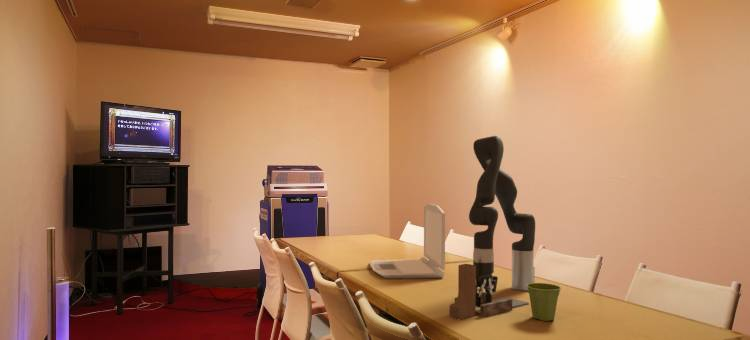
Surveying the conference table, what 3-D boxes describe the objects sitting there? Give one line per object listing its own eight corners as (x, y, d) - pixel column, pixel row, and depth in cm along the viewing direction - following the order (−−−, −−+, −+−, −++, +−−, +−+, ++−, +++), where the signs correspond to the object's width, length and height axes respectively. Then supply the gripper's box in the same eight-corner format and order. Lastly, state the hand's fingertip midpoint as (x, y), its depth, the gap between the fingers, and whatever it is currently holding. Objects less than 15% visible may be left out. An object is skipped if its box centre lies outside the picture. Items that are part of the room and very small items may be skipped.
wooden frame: (483, 302, 196) (483, 291, 196) (512, 309, 184) (512, 299, 184) (454, 308, 186) (454, 297, 186) (483, 317, 175) (483, 305, 175)
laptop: (367, 265, 275) (367, 202, 275) (425, 264, 279) (426, 202, 279) (376, 281, 234) (376, 207, 234) (444, 279, 237) (445, 207, 238)
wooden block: (458, 320, 171) (458, 268, 171) (449, 317, 174) (449, 266, 174) (475, 316, 176) (476, 265, 176) (466, 313, 180) (466, 263, 180)
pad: (505, 298, 202) (505, 296, 202) (528, 304, 193) (528, 302, 193) (489, 302, 196) (489, 300, 196) (512, 308, 187) (512, 306, 187)
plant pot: (568, 321, 170) (568, 288, 170) (539, 324, 167) (539, 290, 167) (547, 312, 181) (547, 281, 182) (519, 314, 178) (519, 283, 178)
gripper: (488, 256, 193) (488, 300, 192) (462, 260, 184) (462, 306, 184) (503, 259, 187) (503, 304, 186) (478, 263, 178) (478, 311, 178)
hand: (483, 305), depth 185 cm, fingers open, 5 cm apart
